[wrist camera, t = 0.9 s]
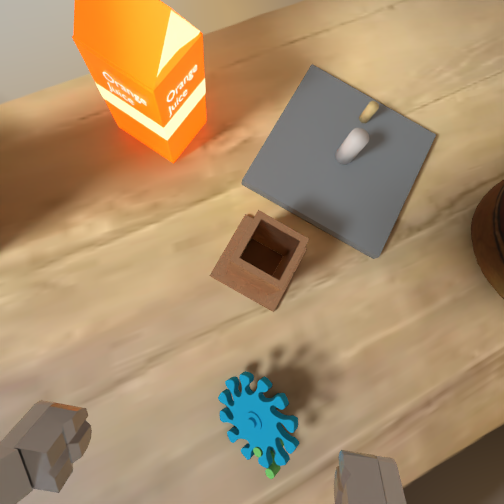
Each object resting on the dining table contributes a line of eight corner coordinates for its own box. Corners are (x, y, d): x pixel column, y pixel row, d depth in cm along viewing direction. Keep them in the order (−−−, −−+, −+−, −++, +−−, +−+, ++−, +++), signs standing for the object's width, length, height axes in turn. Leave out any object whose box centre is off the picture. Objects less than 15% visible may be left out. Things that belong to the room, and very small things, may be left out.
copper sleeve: (209, 275, 42) (208, 266, 33) (245, 215, 43) (252, 190, 35) (273, 311, 42) (288, 311, 33) (305, 249, 43) (328, 233, 35)
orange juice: (173, 164, 44) (139, 43, 24) (117, 127, 44) (38, -24, 24) (207, 120, 45) (202, -26, 26) (153, 84, 45) (107, -89, 26)
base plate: (241, 184, 44) (245, 162, 38) (308, 71, 48) (323, 35, 42) (373, 258, 44) (400, 249, 38) (429, 140, 48) (461, 113, 42)
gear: (206, 375, 38) (279, 379, 32) (238, 355, 43) (307, 355, 37) (227, 471, 38) (305, 493, 32) (257, 441, 43) (330, 455, 37)
